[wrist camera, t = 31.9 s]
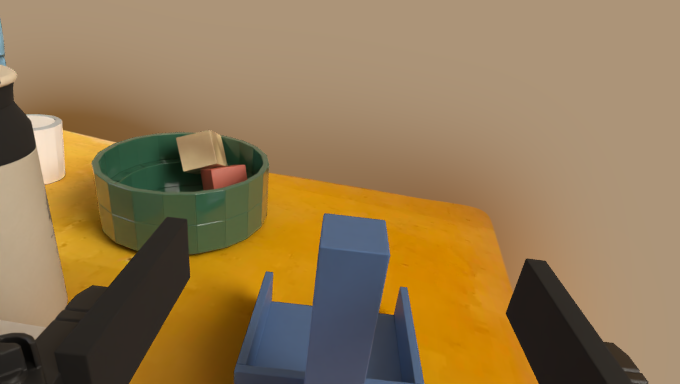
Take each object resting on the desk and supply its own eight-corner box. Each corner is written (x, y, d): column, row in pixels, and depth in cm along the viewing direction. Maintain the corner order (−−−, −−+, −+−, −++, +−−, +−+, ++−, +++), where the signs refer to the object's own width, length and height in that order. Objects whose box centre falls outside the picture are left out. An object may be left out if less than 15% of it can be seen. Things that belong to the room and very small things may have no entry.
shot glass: (4, 192, 47) (-12, 133, 44) (2, 169, 52) (-11, 115, 49) (74, 182, 51) (65, 127, 48) (67, 162, 56) (58, 111, 53)
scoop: (421, 480, 24) (492, 266, 18) (219, 459, 24) (215, 234, 17) (399, 320, 36) (436, 157, 29) (264, 305, 35) (272, 137, 29)
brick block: (250, 199, 48) (245, 164, 48) (216, 205, 46) (210, 169, 45) (237, 197, 51) (232, 165, 51) (205, 203, 49) (200, 169, 49)
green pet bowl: (61, 227, 42) (49, 163, 39) (179, 173, 57) (177, 123, 54) (202, 281, 37) (199, 212, 34) (291, 206, 52) (295, 153, 49)
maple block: (209, 129, 48) (220, 135, 52) (175, 137, 48) (189, 143, 52) (217, 163, 47) (228, 166, 51) (183, 171, 47) (196, 174, 51)
